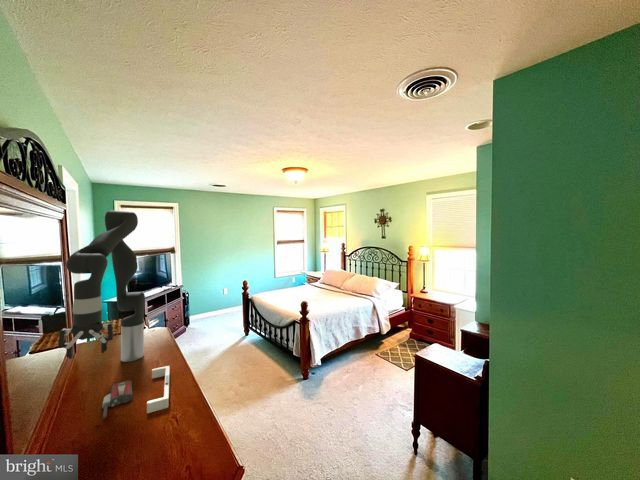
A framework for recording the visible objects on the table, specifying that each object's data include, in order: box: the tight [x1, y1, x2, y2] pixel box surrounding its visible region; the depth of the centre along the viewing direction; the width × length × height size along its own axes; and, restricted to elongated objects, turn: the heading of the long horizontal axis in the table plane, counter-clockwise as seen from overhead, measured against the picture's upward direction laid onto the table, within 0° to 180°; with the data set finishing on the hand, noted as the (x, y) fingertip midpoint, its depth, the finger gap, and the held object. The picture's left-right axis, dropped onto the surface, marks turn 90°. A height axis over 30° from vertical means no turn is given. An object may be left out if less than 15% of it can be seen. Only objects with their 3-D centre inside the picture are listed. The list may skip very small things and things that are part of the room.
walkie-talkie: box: [101, 379, 134, 419], centre depth 95 cm, size 9×4×20 cm
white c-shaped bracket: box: [146, 365, 171, 414], centre depth 102 cm, size 26×6×4 cm, turn 30°
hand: (87, 355), depth 89 cm, fingers open, 8 cm apart
